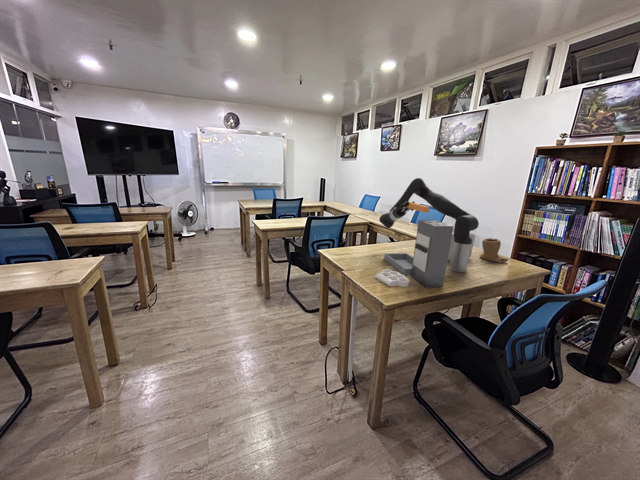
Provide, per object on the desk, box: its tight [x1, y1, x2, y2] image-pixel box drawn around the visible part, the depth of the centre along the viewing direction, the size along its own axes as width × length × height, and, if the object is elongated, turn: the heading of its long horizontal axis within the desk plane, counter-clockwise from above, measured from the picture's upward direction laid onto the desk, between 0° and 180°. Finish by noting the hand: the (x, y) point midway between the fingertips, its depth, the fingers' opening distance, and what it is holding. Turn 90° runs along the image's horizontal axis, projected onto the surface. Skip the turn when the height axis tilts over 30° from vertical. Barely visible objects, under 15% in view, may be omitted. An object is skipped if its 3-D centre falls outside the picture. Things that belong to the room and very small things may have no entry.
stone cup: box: [479, 237, 509, 264], centre depth 170 cm, size 15×12×15 cm
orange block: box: [405, 201, 430, 213], centre depth 142 cm, size 20×3×3 cm, turn 11°
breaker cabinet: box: [410, 219, 455, 289], centre depth 130 cm, size 14×11×32 cm
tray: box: [383, 252, 414, 277], centre depth 155 cm, size 27×16×4 cm, turn 10°
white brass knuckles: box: [374, 268, 410, 288], centre depth 134 cm, size 3×18×15 cm
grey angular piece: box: [448, 231, 476, 261], centre depth 172 cm, size 29×8×18 cm, turn 103°
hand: (411, 202), depth 147 cm, fingers closed on orange block, 3 cm apart
